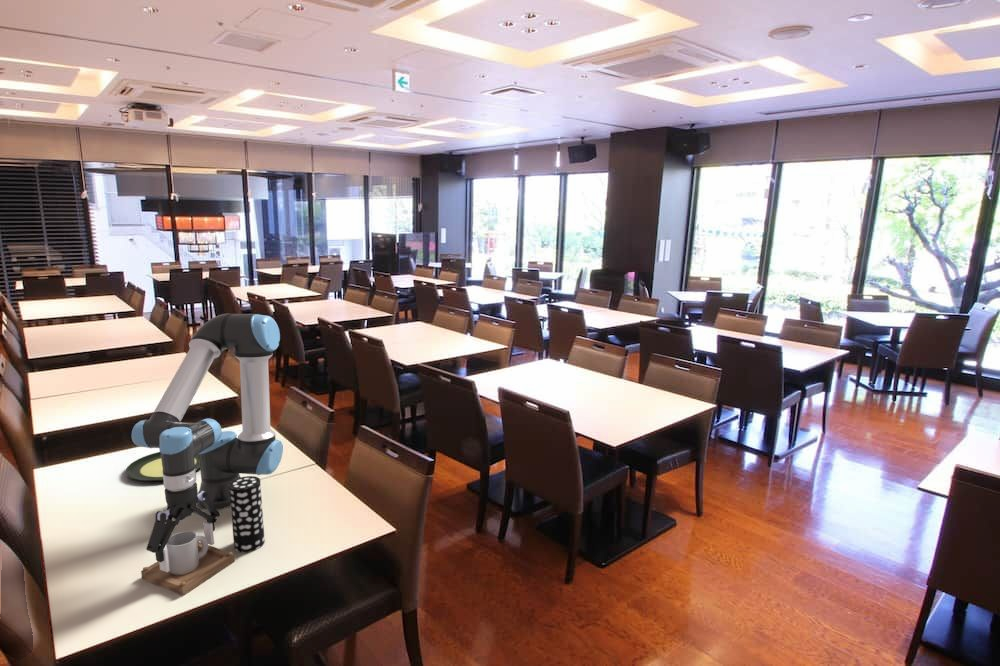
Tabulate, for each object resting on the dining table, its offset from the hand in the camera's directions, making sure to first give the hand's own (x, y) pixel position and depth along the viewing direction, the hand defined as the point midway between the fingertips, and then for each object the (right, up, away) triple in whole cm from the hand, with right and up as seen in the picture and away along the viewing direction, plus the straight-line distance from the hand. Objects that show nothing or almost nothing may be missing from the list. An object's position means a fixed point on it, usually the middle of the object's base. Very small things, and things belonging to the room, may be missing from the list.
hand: (188, 556), depth 152 cm
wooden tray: (0, -4, +1) cm, 4 cm away
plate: (-42, +9, +61) cm, 75 cm away
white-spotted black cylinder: (+11, -2, +13) cm, 17 cm away
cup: (0, -3, +1) cm, 3 cm away
